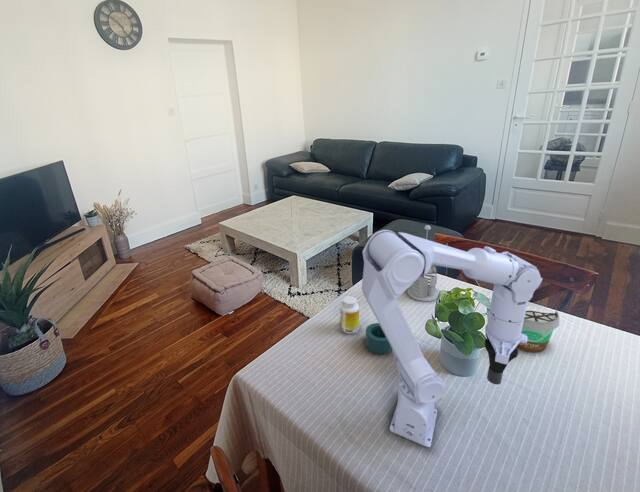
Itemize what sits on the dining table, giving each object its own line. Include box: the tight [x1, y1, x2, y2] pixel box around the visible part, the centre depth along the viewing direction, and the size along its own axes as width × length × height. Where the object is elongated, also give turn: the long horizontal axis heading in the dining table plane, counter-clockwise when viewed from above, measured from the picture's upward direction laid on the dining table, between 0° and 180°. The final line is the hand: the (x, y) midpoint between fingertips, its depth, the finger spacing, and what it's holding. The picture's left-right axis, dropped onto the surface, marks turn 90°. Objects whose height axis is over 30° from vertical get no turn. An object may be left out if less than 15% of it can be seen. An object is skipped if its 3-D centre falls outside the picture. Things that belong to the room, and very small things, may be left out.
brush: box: [486, 365, 504, 386], centre depth 71 cm, size 3×3×8 cm
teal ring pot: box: [365, 322, 393, 355], centre depth 93 cm, size 7×7×4 cm
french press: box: [406, 224, 439, 302], centre depth 110 cm, size 10×12×25 cm
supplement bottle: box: [339, 295, 360, 334], centre depth 100 cm, size 6×6×10 cm
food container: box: [516, 310, 561, 354], centre depth 87 cm, size 12×6×10 cm, turn 76°
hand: (496, 367), depth 71 cm, fingers closed on brush
